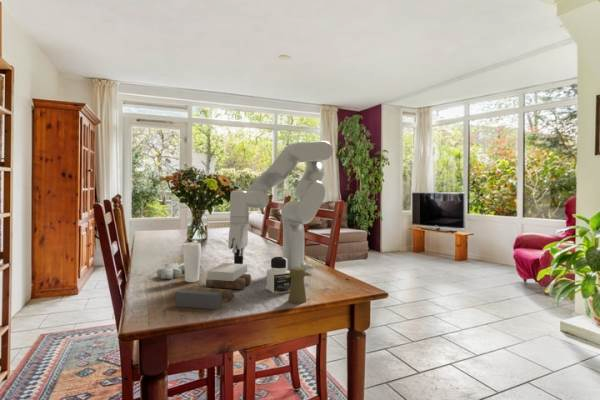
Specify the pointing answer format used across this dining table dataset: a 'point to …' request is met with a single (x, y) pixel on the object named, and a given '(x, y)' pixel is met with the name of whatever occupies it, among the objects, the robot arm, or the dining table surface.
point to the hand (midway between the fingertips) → (238, 265)
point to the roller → (225, 292)
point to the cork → (297, 286)
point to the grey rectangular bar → (199, 299)
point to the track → (230, 283)
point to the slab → (227, 272)
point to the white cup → (192, 261)
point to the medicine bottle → (278, 276)
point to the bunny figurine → (170, 270)
